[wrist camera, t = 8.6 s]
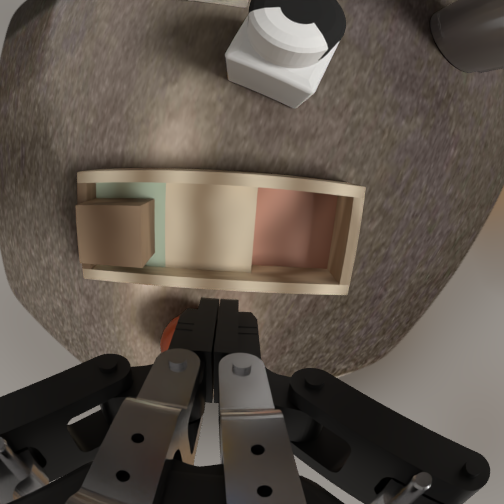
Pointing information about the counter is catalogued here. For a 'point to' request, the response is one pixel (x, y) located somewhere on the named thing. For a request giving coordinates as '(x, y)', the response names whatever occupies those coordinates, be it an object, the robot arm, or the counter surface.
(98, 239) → the walnut block
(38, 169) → the counter surface
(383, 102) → the counter surface
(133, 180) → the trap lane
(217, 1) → the condiment
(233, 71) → the medicine bottle
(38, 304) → the counter surface
